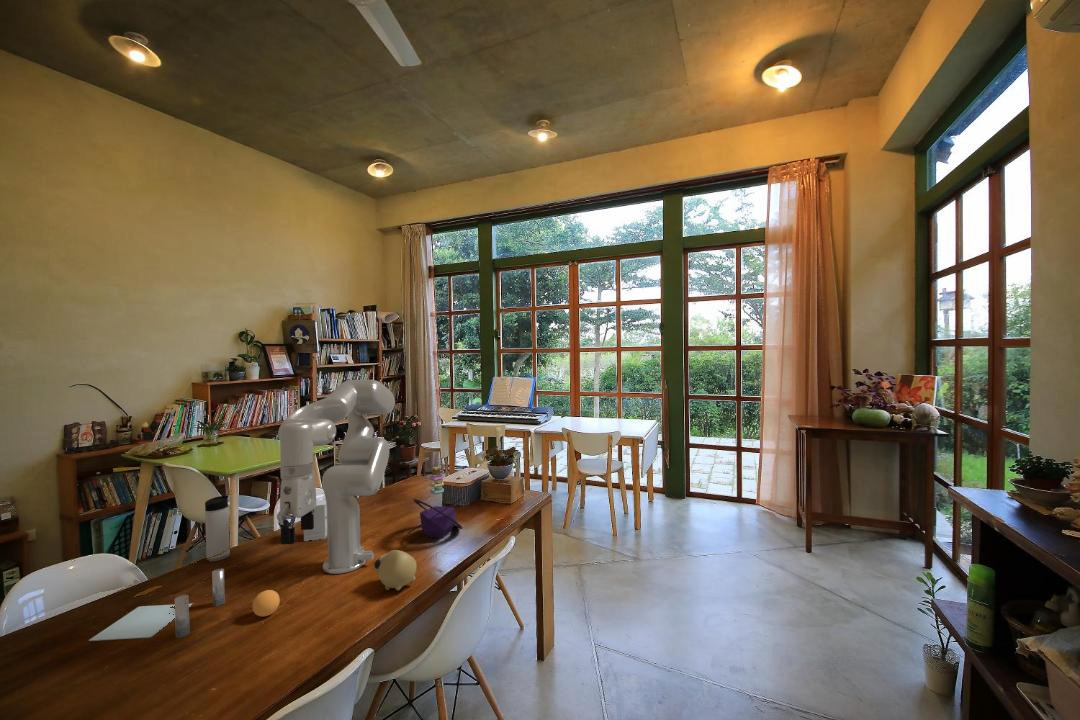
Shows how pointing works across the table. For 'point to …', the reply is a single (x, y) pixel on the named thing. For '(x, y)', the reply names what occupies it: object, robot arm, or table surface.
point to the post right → (218, 587)
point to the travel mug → (217, 528)
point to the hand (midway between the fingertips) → (298, 536)
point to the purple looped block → (437, 512)
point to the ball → (266, 603)
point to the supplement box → (318, 522)
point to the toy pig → (395, 569)
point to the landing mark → (139, 623)
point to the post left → (182, 616)
